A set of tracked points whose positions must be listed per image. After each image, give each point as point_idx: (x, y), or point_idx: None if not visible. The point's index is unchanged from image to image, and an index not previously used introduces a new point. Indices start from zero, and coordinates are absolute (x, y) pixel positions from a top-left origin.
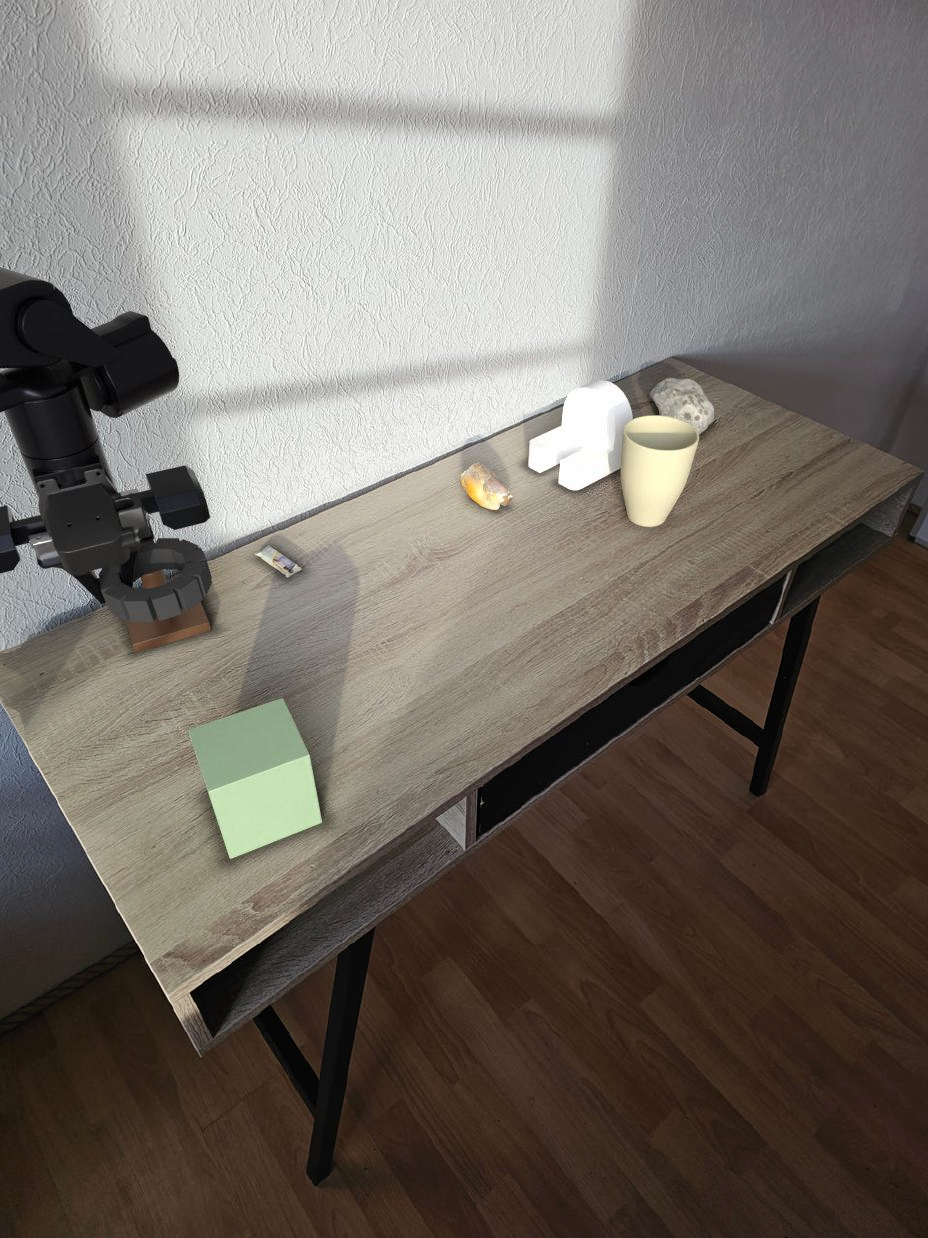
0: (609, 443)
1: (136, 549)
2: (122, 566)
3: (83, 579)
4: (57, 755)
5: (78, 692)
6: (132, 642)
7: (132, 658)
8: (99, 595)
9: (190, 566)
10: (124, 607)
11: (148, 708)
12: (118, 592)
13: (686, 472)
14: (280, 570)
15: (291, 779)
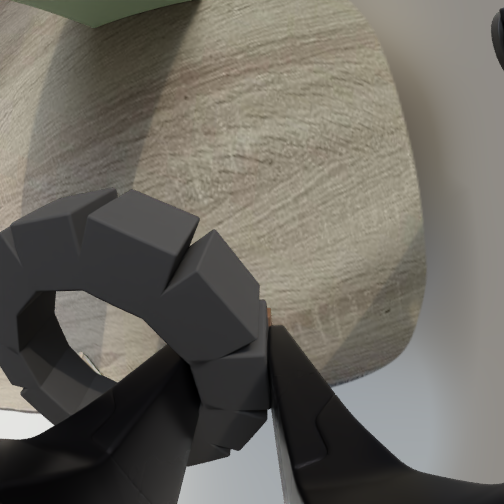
0: None
1: (22, 443)
2: (134, 411)
3: (318, 405)
4: (396, 151)
5: (355, 262)
6: (269, 321)
7: (275, 299)
8: (279, 345)
9: (5, 333)
10: (196, 254)
11: (265, 190)
12: (197, 317)
13: None
14: (90, 365)
15: None
